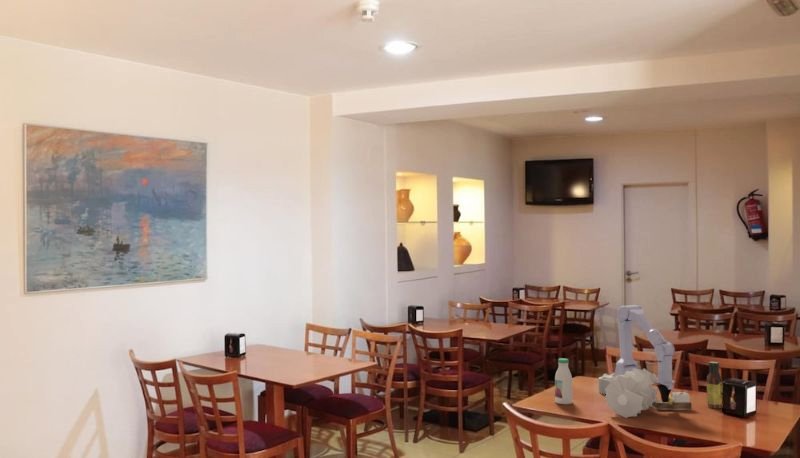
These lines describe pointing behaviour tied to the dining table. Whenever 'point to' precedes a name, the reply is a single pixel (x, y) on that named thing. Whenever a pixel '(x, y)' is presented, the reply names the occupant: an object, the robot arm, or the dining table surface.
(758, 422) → the dining table surface
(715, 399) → the sauce bottle
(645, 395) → the spiral staircase
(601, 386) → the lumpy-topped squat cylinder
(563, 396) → the milk bottle
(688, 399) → the white block with knob
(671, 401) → the lever
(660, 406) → the tan flat board
